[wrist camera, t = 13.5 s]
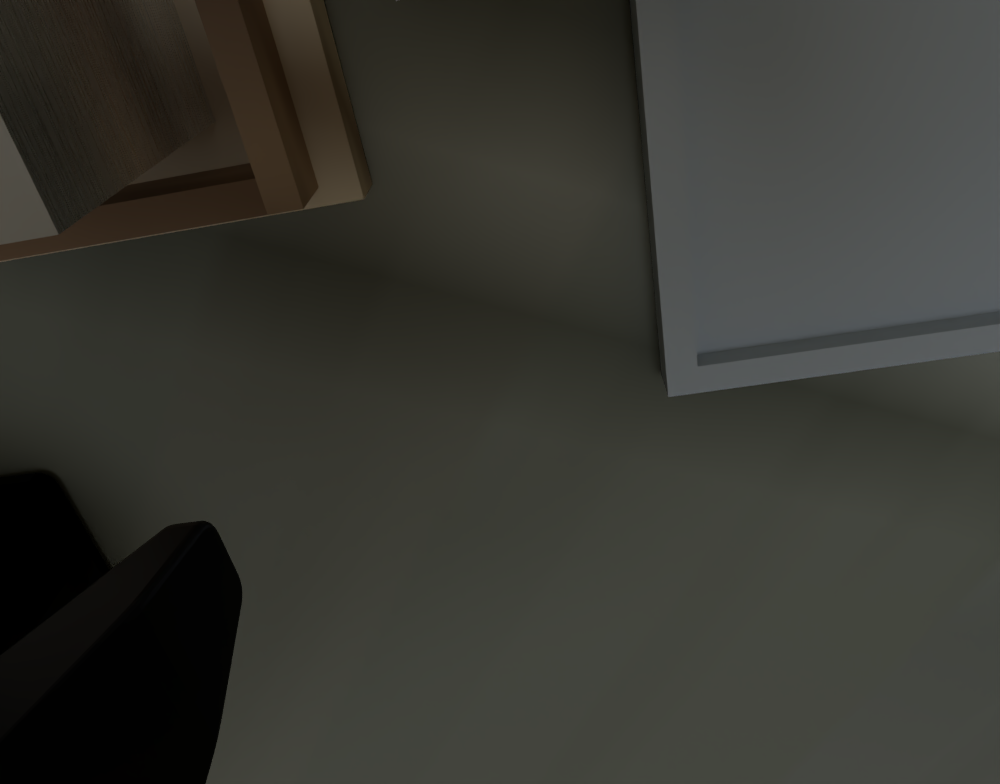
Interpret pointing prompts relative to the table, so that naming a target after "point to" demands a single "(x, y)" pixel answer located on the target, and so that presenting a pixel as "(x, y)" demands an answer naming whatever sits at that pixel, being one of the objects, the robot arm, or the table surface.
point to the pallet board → (242, 131)
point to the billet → (88, 105)
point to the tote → (819, 184)
